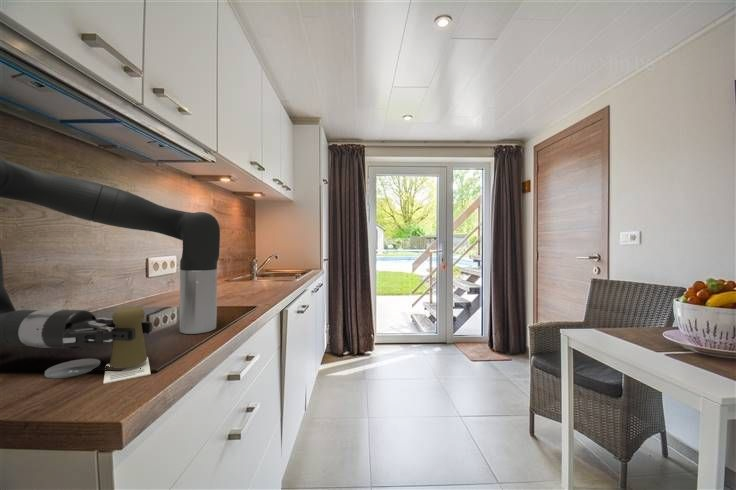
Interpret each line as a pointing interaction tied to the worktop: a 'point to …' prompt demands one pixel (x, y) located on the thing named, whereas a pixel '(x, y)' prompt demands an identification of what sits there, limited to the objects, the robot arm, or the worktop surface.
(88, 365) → the coaster
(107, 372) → the letter
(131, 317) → the cork
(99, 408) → the worktop surface
